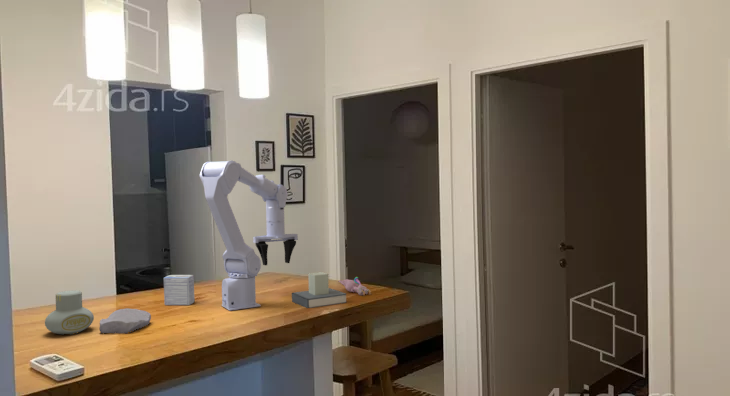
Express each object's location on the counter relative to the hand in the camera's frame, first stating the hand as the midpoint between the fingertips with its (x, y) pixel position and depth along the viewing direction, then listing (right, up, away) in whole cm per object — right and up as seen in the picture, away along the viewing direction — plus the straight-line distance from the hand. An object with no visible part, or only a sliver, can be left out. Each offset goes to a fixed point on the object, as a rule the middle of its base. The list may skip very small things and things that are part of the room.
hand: (276, 263), depth 183 cm
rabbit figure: (+25, -10, +4) cm, 27 cm away
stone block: (-33, -13, -36) cm, 50 cm away
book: (+14, -11, -10) cm, 20 cm away
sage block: (+14, -8, -10) cm, 19 cm away
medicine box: (-28, -12, -9) cm, 32 cm away
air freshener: (-46, -13, -39) cm, 62 cm away
